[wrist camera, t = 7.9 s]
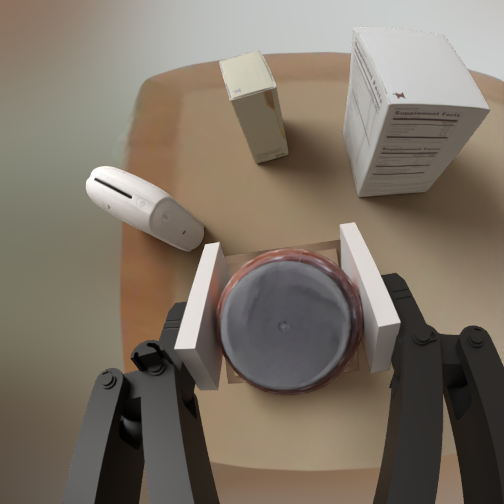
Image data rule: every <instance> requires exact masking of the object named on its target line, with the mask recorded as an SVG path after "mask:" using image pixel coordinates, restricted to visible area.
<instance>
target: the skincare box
mask: <svg viewBox="0 0 504 504" xmlns="http://www.w3.org/2000/svg"><path fill="white" fill-rule="evenodd" d="M219 64H220V68H221V71H222V75H223V78H224V81H225V85H226V88H227V91H228V95H229V98H230V101H231V103H232V106H233V108H234V111H235V113H236V116H237V118H238V121H239V123H240V126H241V128H242V130H243V133H244V135H245V138H246V140H247V143H248V145H249V148H250V150H251V153H252V155H253V158H254V161H255V163H260V162H264V161H268V160H272V159H275V158H279V157H282V156H285V155H288V154H289V152H288V146H287V141H286V136H285V130H284V125H283V119H282V114H281V109H280V104H279V99H278V94H277V88H276V84H275V81H274V78H273V76H272V73H271V71H270V69H269V67H268V65H267V63H266V61H265V59H264V57H263V55H262V54H261V52H260V51H254V52H250V53H247V54H243V55H239V56H236V57H232V58H228V59H225V60H222V61H220V62H219Z"/></svg>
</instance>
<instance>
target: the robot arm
mask: <svg viewBox="0 0 504 504" xmlns="http://www.w3.org/2000/svg"><path fill="white" fill-rule="evenodd" d="M340 240H341V268H342V270H343V271H344V272H345V273H346V274H347V275H348V276H349V278H350V279H351V281H352V283H353V284H354V286H355V288H356V290H357V292H358V295H359V298H360V302H361V304H362V310H363V330H362V336H361V337H362V341H363V345H364V349H365V353H366V357H367V361H368V365H369V369H370V373H375V372H380V371H385V370H389V369H390V365H391V362H392V365H393V369H394V374H393V377H392V380H391V384H390V387H389V388H392V389H391V400H390V410H389V418H388V426H387V434H386V440H385V447H384V453H383V459H382V464H381V469H380V475H379V479H378V484H377V488H376V493H375V497H374V501H373V504H435V499H436V494H437V487H438V479H439V471H440V462H441V450H442V432H443V394H444V398H445V402H446V406H447V410H448V414H449V418H450V422H451V426H452V431H453V435H454V440H455V445H456V450H457V456H458V461H459V467H460V473H461V481H462V488H463V497H464V504H504V366H503V364H502V362H501V359H500V357H499V355H498V352H497V350H496V348H495V346H494V344H493V342H492V339H491V337H490V335H489V334H488V333H487V331H486V330H484V329H483V328H481V327H478V326H468V327H466V328H464V329H463V330H462V332H461V333H460V335H445V334H440V333H438V332H437V331H436V330H435V329H434V328H433V327H431V326H429V325H428V324H426V322H425V320H424V318H423V316H422V314H421V312H420V310H419V308H418V305H417V303H416V301H415V299H414V297H413V295H412V293H411V291H410V290H409V288H408V286H407V284H406V282H405V280H404V279H403V278H402V277H400V276H399V275H398V274H397V273H392V274H387V275H380V273H379V271H378V269H377V267H376V265H375V262H374V260H373V258H372V256H371V254H370V252H369V250H368V248H367V246H366V244H365V242H364V240H363V238H362V236H361V234H360V232H359V230H358V228H357V226H356V224H355V223H347V224H340ZM230 279H231V278H230V274H229V271H228V268H227V264H226V261H225V258H224V254H223V251H222V248H221V244H220V242H217V243H211V244H205V247H204V250H203V253H202V256H201V259H200V263H199V266H198V269H197V272H196V276H195V279H194V282H193V285H192V289H191V292H190V295H189V299H188V302H180V303H175V304H174V306H173V307H172V308H171V309H170V311H169V312H168V315H167V318H166V322H165V324H164V327H163V328H164V329H163V330H162V333H161V336H160V339H159V341H155V340H149V341H145V342H143V343H141V344H139V345H138V346H137V347H136V348H135V349H134V350H133V352H132V354H131V358H130V359H131V360H132V361H133V362H134V364H135V365H136V366H137V368H138V369H139V370H137V371H134V372H130V373H127V374H123V373H122V372H121V371H120V370H118V369H116V368H110V369H106V370H105V371H103V372H102V373H101V374H100V375H99V376H98V377H97V379H96V381H95V384H94V387H93V390H92V393H91V396H90V399H89V402H88V405H87V408H86V412H85V415H84V418H83V422H82V425H81V428H80V432H79V435H78V439H77V442H76V446H75V450H74V454H73V458H72V462H71V466H70V470H69V474H68V479H67V483H66V488H65V493H64V498H63V503H62V504H139V499H140V491H141V483H142V476H143V469H144V463H145V470H146V479H147V488H148V496H149V503H150V504H220V503H219V499H218V495H217V491H216V487H215V483H214V478H213V474H212V470H211V465H210V461H209V456H208V452H207V447H206V442H205V437H204V432H203V427H202V422H201V417H200V411H199V406H198V400H197V397H196V395H195V393H194V388H195V383H196V385H197V387H198V388H199V390H218V386H219V379H220V371H221V364H222V356H223V353H222V350H221V348H220V345H219V342H218V337H217V332H216V312H217V307H218V303H219V300H220V297H221V295H222V292H223V290H224V288H225V287H226V285H227V283H228V282H229V280H230Z"/></svg>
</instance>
